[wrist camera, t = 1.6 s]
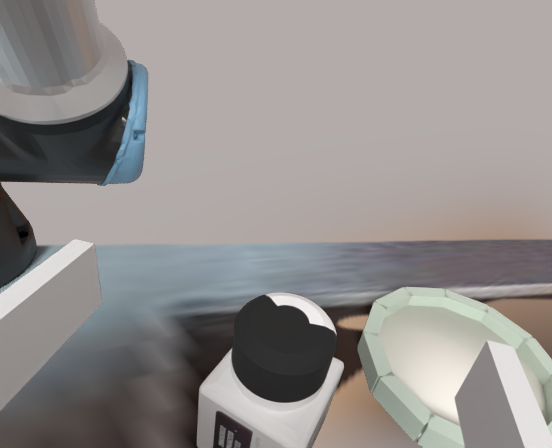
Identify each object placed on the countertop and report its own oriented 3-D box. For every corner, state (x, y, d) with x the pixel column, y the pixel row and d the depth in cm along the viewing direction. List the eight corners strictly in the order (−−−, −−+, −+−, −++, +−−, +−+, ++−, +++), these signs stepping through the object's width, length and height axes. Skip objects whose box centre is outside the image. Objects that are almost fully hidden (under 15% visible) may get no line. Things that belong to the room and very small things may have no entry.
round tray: (336, 403, 34) (343, 386, 32) (381, 282, 49) (386, 266, 47) (578, 525, 28) (598, 511, 27) (544, 346, 43) (556, 331, 42)
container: (283, 510, 26) (320, 402, 19) (194, 447, 29) (198, 332, 22) (325, 419, 32) (365, 310, 25) (248, 373, 35) (265, 264, 28)
